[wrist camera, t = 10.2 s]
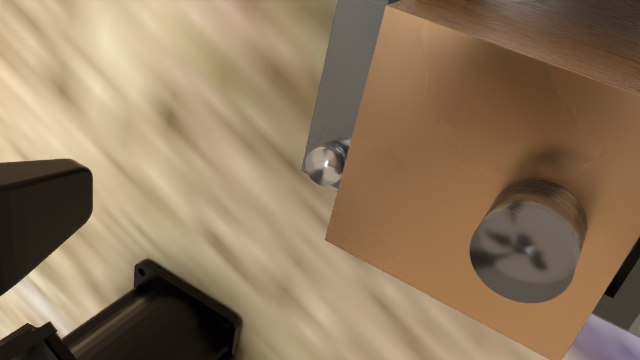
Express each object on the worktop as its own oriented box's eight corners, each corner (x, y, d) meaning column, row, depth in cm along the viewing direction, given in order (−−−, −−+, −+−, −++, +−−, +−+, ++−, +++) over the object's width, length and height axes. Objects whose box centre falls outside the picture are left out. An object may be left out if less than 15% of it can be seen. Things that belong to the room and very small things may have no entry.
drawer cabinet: (360, 129, 20) (282, 183, 17) (438, -161, 16) (355, -181, 12) (690, 276, 17) (690, 390, 13) (922, -45, 12) (1035, -18, 8)
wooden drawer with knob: (455, 117, 17) (291, 270, 10) (511, -39, 15) (349, 18, 8) (610, 181, 16) (545, 414, 9) (701, 18, 13) (714, 155, 6)
